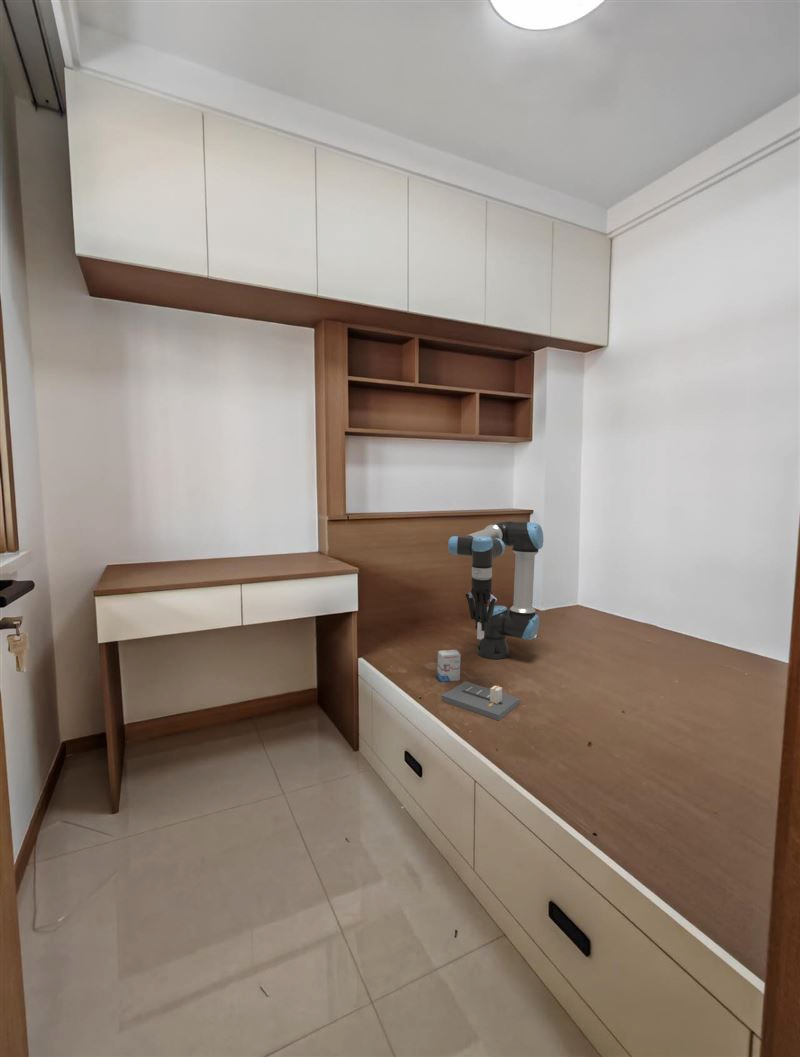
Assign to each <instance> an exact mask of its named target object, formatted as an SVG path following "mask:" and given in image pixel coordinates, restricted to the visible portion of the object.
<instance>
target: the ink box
mask: <svg viewBox="0 0 800 1057" xmlns="http://www.w3.org/2000/svg"><path fill="white" fill-rule="evenodd" d="M461 656H462V655H461V653H460V652H459V650H457V649H448V650H439V651H437V666H436V668H437V670H436V672H437V674H436V677H437V679H438V680H439V681H440V682H441V683H443V682H444V683H445V682H455V681H460V679H461V676H460V675H461Z"/></svg>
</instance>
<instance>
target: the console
mask: <svg viewBox="0 0 800 1057" xmlns="http://www.w3.org/2000/svg"><path fill="white" fill-rule="evenodd" d="M441 701H442V702H445V703H447V704H450V705H453V706H456V707H459V708H462V709H463V710H464V709H465V710H467V711H470V712H473V713H475V714H479V715H482V716H485V717H487V718H490V719H492V720H495V721H498V722H499V721H500V720H501V719H502V718H504V717H505V716H506V715H507V714H509V713H510V712H511V711H512V710H514V709H515V708H517V706H519V705H520V704H521V698H520V697H516V696H514V695H510V694H507V693H504V692H502V701H501V702H499V703H498V704H496V703H493V702H490V688H489V687H485V686H481V685H478V684H476V683H472V682H468V681H466V680H465V681H463V682H462V683H459V684H458V685H455V687H453V688H451V689H450V690H448V691H447V692H445V693H443V694H442V695H441Z"/></svg>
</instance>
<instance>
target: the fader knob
mask: <svg viewBox="0 0 800 1057" xmlns="http://www.w3.org/2000/svg"><path fill="white" fill-rule="evenodd" d="M489 689H490V702H493V703H496V704H498V703H499V702H501V701H502V693H503V687H501V686H500V685H493V686H492V687H490V688H489Z"/></svg>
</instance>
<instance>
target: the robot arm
mask: <svg viewBox="0 0 800 1057" xmlns="http://www.w3.org/2000/svg"><path fill="white" fill-rule="evenodd" d="M543 545H544V531H543V529H542V527H541V525H540V524H539V523H537V522H532V521H511V520H504V521H499V522H496V523H492V524H489V525H486V526H485V528H483V529H482V530H481V529H480V530H478V531H475V532H473V533H468V534H467V535H463V536H458V535H455V536H454V535H452V536H451V537H450V538H449V539H448V542H447V549H448V553H449V554H451V555H455V556H465V557H471V577H472V578H471V589H470V592H467V593H466V594H465V598H466V600H467V604H468V609H469V615H470V619H472V620H474V621H475V630H476V635H477V636H476V640H479V643H478V646H477V649H476V651H477V652H476V653H477V655H478V656H480V657H482V658H485V659H489V660H503V659H506V658H508V657H509V655H510V649H509V645H508V643H507V637H511V638H512V637H513V638H518V639H522V640H528V641H529V640H533V639H534V638H535V637H536V635H537V633H538V631H539V628H540V627H539V626H540V616H539V615H538V614H536V609H535V608H534V607H533V603H534V602H533V600H534V599H533V598H534V578H535V577H534V576H535V558H536V555H537V554H538V553H539V550H541V549H542V548H543V547H544V546H543ZM506 546H507V547H512V552H513V553H514V554H515V560H514V561H515V563H514V580H513V581H514V585H513V604H512V606H511V607H510V608H509V610H508V607H507V606H504V605H496V603H497V602H498V600H499V599H498V597H495V595H493V592H492V585H493V580H492V577H493V559H497V558H499V557H501V556H502V555H503V554H504V553H505V552H506ZM488 604H489V605H488ZM506 636H507V637H506Z"/></svg>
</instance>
